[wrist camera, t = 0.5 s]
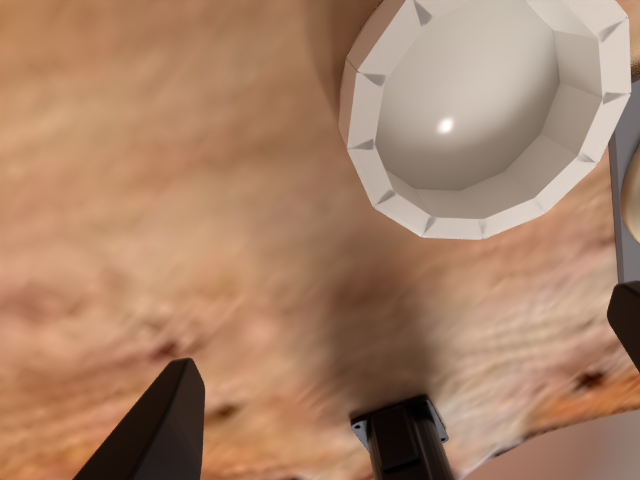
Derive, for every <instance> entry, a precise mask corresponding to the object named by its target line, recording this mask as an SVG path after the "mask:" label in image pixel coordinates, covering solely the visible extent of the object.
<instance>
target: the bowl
mask: <svg viewBox="0 0 640 480" xmlns="http://www.w3.org/2000/svg"><path fill="white" fill-rule="evenodd" d="M627 16H628V15H627V14H626V13H625V12H624V10H623V9H622V8H621V7H620V6H619V4H618V3H617V2H616V1H615V0H384V1H383V2H382V3H381V4H380V5H379V6H378V7H377V8H376V9H375V10H374V11H373V13H372V14H371V15H370V17H369V18H368V19H367V21H366V22H365V23H364V25H363V27H362V28H361V30H360V32H359V33H358V35H357V37H356V39H355V41H354V43H353V45H352V47H351V50H350V52H349V54H348V55H347V59H346V60H345V67H344V70H343V74H342V80H341V86H340V100H339V107H340V113H339V122H338V128H339V130H340V133H341V136H342V138H343V141H344V143H345V146H346V149H347V151H348V153H349V155H350V158H351V160H352V162H353V164H354V167H355V169H356V171H357V173H358V175H359V178H360V180H361V182H362V184H363V186H364V189H365V191H366V193H367V195H368V198H369V200H370V202H371V204H372V206H373V208H375V209H376V210H378V211H380V212H381V213H383V214H384V215H386V216H388V217H389V218H391V219H392V220H394V221H396V222H397V223H399V224H401V225H402V226H404V227H405V228H407V229H409V230H410V231H412V232H413V233H415V234H417V235H418V236H420V237H423V238H446V239H477V240H482V239H485V238H488V237H490V236H492V235H495V234H497V233H500V232H502V231H505V230H507V229H510V228H512V227H514V226H517V225H519V224H522V223H524V222H527V221H529V220H532V219H534V218H536V217H539V216H541V215H544V214H543V213H546V212H547V211H548V210H549V209H550V208H552V207H553V206H554V205H555V204H556V203H557V202H558V201H559V200H560V199H561V198H562V197H563V196H564V195H565V194H566V193H568V192H569V191H570V190H571V189H572V188H573V187H574V186H575V185H576V184H577V183H578V182H579V181H580V180H581V179H582V178H583V177H585V176H586V175H587V174H588V173H589V172H590V171H591V170H592V169H593V168H594V167H595V166H596V165H597V163H599V161H600V159H601V157H602V155H603V152H604V150H605V148H606V146H607V144H608V142H609V140H610V138H611V135H612V133H613V131H614V129H615V127H616V125H617V123H618V121H619V118H620V116H621V114H622V112H623V110H624V108H625V106H626V104H627V101H628V99H629V97H630V95H631V94H629V93H631V68H630V40H629V17H627Z"/></svg>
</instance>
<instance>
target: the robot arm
mask: <svg viewBox="0 0 640 480" xmlns="http://www.w3.org/2000/svg"><path fill="white" fill-rule="evenodd" d="M607 318H608V321H609V324H610V326H611V327H612V329H613V330H614V332H615V334H616V335H617V337H618V339H619V340H620V342H621V343H622V345H623V347H624V348H625V350H626V352H627V353H628V355H629V356H630V358H631V360H632V361H633V363H634V365H635V366H636V368H637V369H638V371H639V373H640V281H638V280H634V281H628V282H623V283H619V284H617V285H616V286H615V287H614V289H613V292H612V296H611V299H610V303H609V306H608V310H607ZM204 407H205V386H204V382H203V380H202V378H201V375H200V373H199V371H198V369H197V367H196V365H195V363H194V361H193V359H192V358H188V357H187V358H181V359H176V360H172V361H171V362H170V363H169V364H168V365H167V366H166V367H165V368H164V370H163V371H162V372H161V373H160V374H159V376H158V377H157V378H156V379H155V380H154V382H153V383H152V384H151V385H150V386H149V388H148V389H147V390H146V391H145V392H144V394H143V395H142V396H141V397H140V399H139V400H138V401H137V402H136V403H135V405H134V406H133V407H132V408H131V409H130V411H129V412H128V413H127V414H126V415H125V417H124V418H123V419H122V420H121V421H120V423H119V424H118V425H117V426H116V427H115V429H114V430H113V431H112V432H111V433H110V435H109V436H108V437H107V438H106V439H105V441H104V442H103V443H102V444H101V445H100V447H99V448H98V449H97V450H96V451H95V453H94V454H93V455H92V456H91V458H90V459H89V460H88V461H87V462H86V464H85V465H84V466H83V467H82V468H81V470H80V471H79V472H78V473H77V474H76V476H75V477H74V478H73V479H72V480H200V474H201V466H202V453H203V430H204ZM351 429H352V430H353V431H354V433H355V434H356V436H357V437H358V438H359V440H360V441H361V442H362V444H363V445H364V446H365V448H366V449H367V450H368V452H369V454H370V459H371V464H372V470H373V475H374V480H455V479H454V476H453V473H452V470H451V468H450V465H449V462H448V459H447V456H446V453H445V450H444V447H443V445H442V443H445V442H447V441H448V439H449V438H448V435H447V433H446V431H445V429H444V427H443V425H442V423H441V421H440V419H439V417H438V415H437V413H436V412H435V410H434V408H433V406H432V404H431V402H430V400H429V398H428V397H427V396H425V395H422V396H418V397H415V398H413V399H410V400H407V401H404V402H401V403H398V404H396V405H393V406H390V407H387V408H384V409H382V410H379V411H376V412H373V413H370V414H367V415H365V416H362V417H359V418H356V419H354V420H352V421H351Z"/></svg>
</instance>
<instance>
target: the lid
mask: <svg viewBox="0 0 640 480" xmlns="http://www.w3.org/2000/svg"><path fill="white" fill-rule="evenodd" d="M620 211H621V217H622V220H623V223H624V226H625V227H626V229H627V231H628V232H629V234H630V235H631V236H632V237H633V238H634V239H635V240H636V241H637V242H638V243H640V144H639V146H638V148H637V149H636V151H635V153H634V155H633V156H632V159H631V161H630V163H629V165H628V168H627V170H626V173H625V176H624V179H623V183H622V188H621V194H620Z"/></svg>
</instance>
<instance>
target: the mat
mask: <svg viewBox="0 0 640 480" xmlns="http://www.w3.org/2000/svg"><path fill="white" fill-rule="evenodd" d="M629 94H631V95H630V97H629V99H628V101H627V104H626V106H625V108H624V110H623V112H622V114H621V116H620V118H619V121H618V123H617V125H616V127H615V129H614V131H613V133H612V135H611V138H610V140H609V156H610V170H611V184H612V198H613V212H614V226H615V240H616V254H617V268H618V282H619V283H623V282H628V281H634V280H638V281H640V243H638V242H637V241H636V240H635V239H634V238H633V237H632V236H631V235H630V234H629V232H628V231H627V229H626V227H625V226H624V223H623V220H622V217H621V211H620V194H621V188H622V183H623V179H624V176H625V173H626V170H627V168H628V165H629V163H630V161H631V159H632V156H633V155H634V153H635V151H636V149H637V148H638V146H639V144H640V73H639V74H637V75H635V76H632V77H631V93H629Z"/></svg>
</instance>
